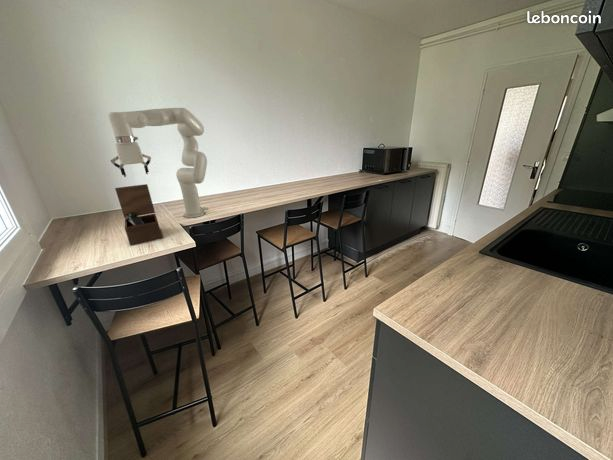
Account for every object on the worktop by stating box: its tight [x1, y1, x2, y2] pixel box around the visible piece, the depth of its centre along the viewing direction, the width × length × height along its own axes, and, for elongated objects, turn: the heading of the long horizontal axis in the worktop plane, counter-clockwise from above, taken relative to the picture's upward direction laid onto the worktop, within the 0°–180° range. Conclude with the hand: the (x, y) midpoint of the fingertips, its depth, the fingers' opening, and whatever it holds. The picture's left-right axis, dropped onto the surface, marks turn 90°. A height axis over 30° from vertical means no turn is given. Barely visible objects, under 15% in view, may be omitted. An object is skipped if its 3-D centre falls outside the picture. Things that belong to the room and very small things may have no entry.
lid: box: [114, 183, 156, 219], centre depth 141 cm, size 17×15×5 cm
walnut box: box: [124, 213, 163, 246], centre depth 138 cm, size 16×15×10 cm
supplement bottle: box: [125, 213, 145, 227], centre depth 137 cm, size 7×7×12 cm
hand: (136, 175), depth 129 cm, fingers open, 9 cm apart
